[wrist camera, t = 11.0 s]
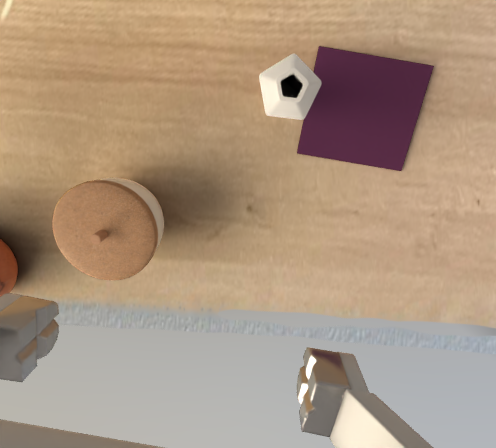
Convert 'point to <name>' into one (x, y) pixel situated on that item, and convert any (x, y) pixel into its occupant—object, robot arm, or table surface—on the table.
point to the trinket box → (108, 227)
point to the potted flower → (7, 269)
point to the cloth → (364, 108)
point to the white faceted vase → (289, 88)
